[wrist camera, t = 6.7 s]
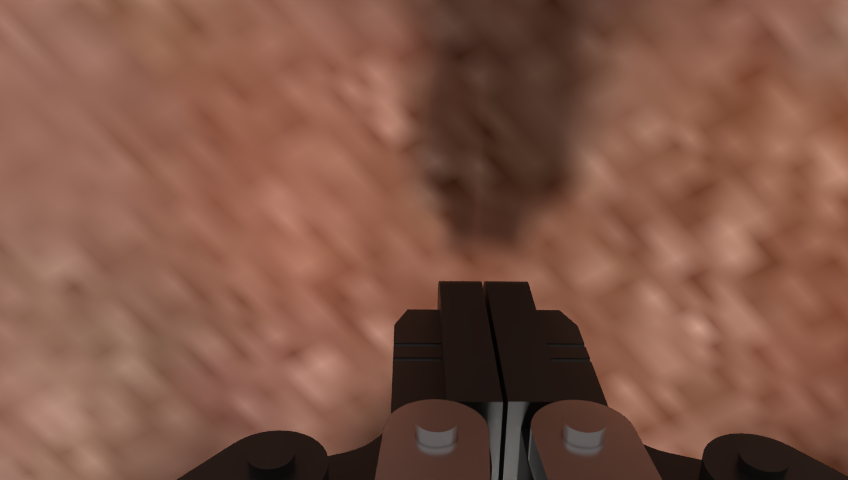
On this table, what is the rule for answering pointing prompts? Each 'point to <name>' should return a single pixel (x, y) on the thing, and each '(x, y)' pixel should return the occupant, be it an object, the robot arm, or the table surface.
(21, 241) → the table surface
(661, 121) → the table surface
